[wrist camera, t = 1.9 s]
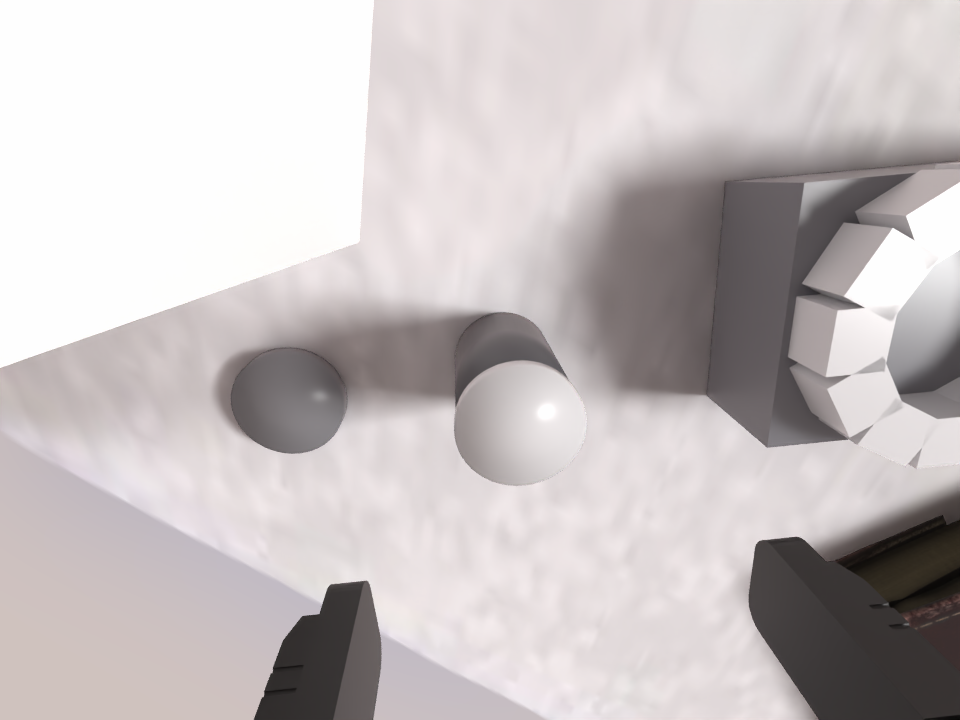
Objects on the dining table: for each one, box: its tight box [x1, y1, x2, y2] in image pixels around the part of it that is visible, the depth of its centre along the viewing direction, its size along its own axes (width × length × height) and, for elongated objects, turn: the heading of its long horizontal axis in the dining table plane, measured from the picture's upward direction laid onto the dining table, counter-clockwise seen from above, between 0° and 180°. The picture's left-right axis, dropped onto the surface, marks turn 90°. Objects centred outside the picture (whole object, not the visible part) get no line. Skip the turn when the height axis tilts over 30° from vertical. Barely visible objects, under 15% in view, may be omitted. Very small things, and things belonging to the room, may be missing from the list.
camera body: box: [707, 161, 960, 469], centre depth 19 cm, size 10×14×9 cm
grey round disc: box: [231, 348, 347, 454], centre depth 23 cm, size 5×5×1 cm
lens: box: [454, 313, 587, 486], centre depth 20 cm, size 4×4×7 cm
